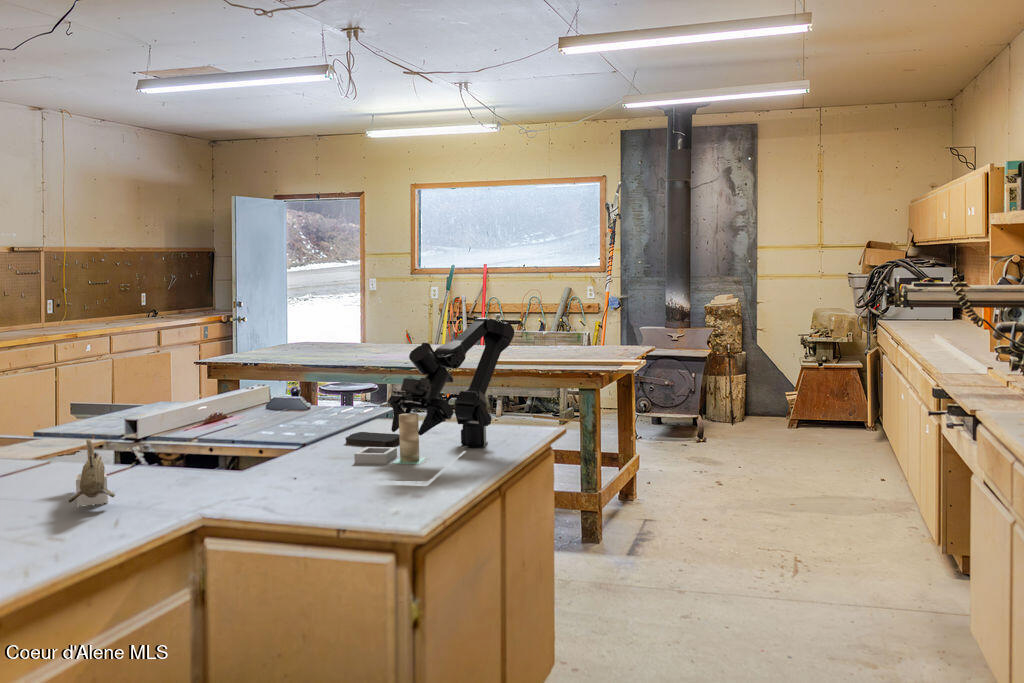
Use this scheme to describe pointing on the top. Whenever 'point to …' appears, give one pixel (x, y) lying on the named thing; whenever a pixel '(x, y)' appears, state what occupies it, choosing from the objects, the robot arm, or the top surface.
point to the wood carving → (92, 481)
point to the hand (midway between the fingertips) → (405, 432)
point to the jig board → (383, 456)
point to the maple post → (409, 437)
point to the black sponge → (373, 439)
